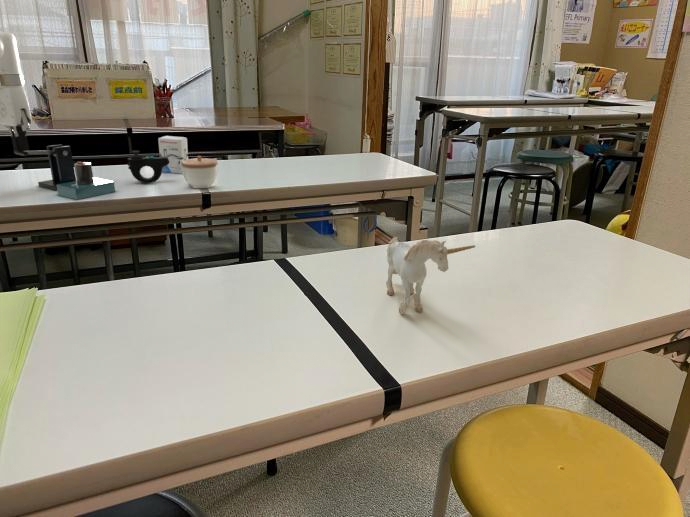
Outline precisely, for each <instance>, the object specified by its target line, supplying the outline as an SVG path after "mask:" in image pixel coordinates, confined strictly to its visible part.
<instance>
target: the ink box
mask: <svg viewBox="0 0 690 517" xmlns="http://www.w3.org/2000/svg"><path fill="white" fill-rule="evenodd" d="M157 141H158V152H159V157H168V159H169V161H170V162H169V164H168V165H166V166H164V167H163V168H162V173H171V174H180V175H181V174H182V175H183V170H182V164H181V162H182V161H183V160H187V159H189V151H188V150H189V149H188V138H187V137H184V136H173V135H164V136H161V137H158V139H157Z"/></svg>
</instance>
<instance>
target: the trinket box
mask: <svg viewBox="0 0 690 517" xmlns="http://www.w3.org/2000/svg"><path fill="white" fill-rule="evenodd" d="M181 164H182V170H183V174H182V175H183V178H184V180H185V181H186V183H188V185H190V186H191V188H193V189H208V188H211V187H212V185H213V184H214V183H215V182H216V180H217V177H218V171H219V168H218V164H219V163H218V160H216V159H214V158H207V157H204V158H203V157H202V156H201V155H197V157H196V158H195V157H194V158H188V159H187V160H183V161H182V162H181Z"/></svg>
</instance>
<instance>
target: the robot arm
mask: <svg viewBox="0 0 690 517" xmlns="http://www.w3.org/2000/svg"><path fill="white" fill-rule="evenodd" d="M17 45H18V44H17V39H16V37H15V35H14V34H13V33H12V32H9V31H5V30H4V31H3V30H2V31H1V30H0V125H3V126H4V128H5V129H7V130H8V132H9V135H10V137H11V141H12V147H13V151H30V147H29V141H28V137H27V136H28V131H30V130H31V128H30V125H31V124H32V123H33V118H32V112H31V107H30V104H29V99H28V97H27V93H26V90H25V87H26V85H25V80H24V75H23V71H22V64H21V61H20V56H19V50H18V46H17Z"/></svg>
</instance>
